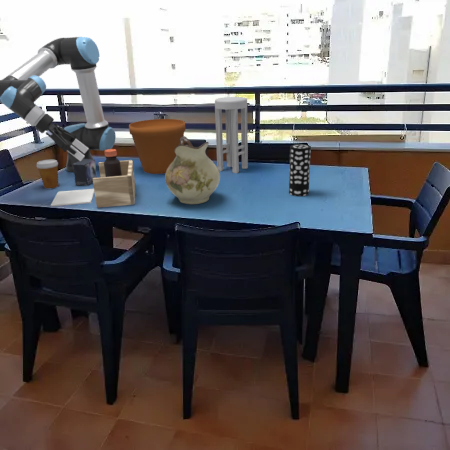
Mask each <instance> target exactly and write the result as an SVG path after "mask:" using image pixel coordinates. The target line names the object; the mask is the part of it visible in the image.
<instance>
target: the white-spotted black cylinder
mask: <svg viewBox="0 0 450 450" xmlns="http://www.w3.org/2000/svg"><path fill="white" fill-rule="evenodd" d="M311 147H312V146H311V145H309V144H303V143H301V144H300V143H299V144H298V143H297V144H292V145H290V147H289V177H288V179H289V180H288V181H289V183H288V194H289V195H291V196H294V197H305V196H308V195H309V194H310V176H311V175H310V172H311V171H310V170H311V153H312V151H311V149H312V148H311Z"/></svg>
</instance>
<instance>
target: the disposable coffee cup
mask: <svg viewBox="0 0 450 450" xmlns="http://www.w3.org/2000/svg"><path fill="white" fill-rule="evenodd" d="M58 165H59V162H58V160H56V159H43V160H39V161H37V162H36V168H37V169H38V173H39V176H40V178H41V182H42V185H43V187H44V189H55V188H58V187H59V186H60V185H59V169H58V168H59V166H58Z"/></svg>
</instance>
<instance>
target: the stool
mask: <svg viewBox="0 0 450 450" xmlns="http://www.w3.org/2000/svg"><path fill="white" fill-rule="evenodd" d="M222 110H225V142H226V143H223V116H222V115H223V113H222V112H223V111H222ZM238 110H240V129H241V130H240V131H241V132H240V135H241V138H240V139H241V141H240V144H241V145H239V118H238V117H239V116H238V115H239V111H238ZM214 112H215V113H214V114H215V115H214V116H215V118H214V119H215V142H216V166H217V168H218V170H219V172H222V171H224V170H225V169H224V155H225V154H226V167H229V168H230V167H232V173H233V174H238V173H239V171H240V169H239V168H240V167H239V163H240V162H239V159H240V158H239V156H240V155H241V169H246V170H247V169H248V168H249V164H248V163H249V159H248V156H249V155H248V154H249V153H248V152H249V151H248V150H249V149H248V147H249V145H248V144H249V143H248V98H247V97H243V96H227V97H226V96H225V97H218V98H215V100H214ZM225 148H226V149H225ZM240 149H241V151H239V150H240Z"/></svg>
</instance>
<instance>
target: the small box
mask: <svg viewBox="0 0 450 450" xmlns="http://www.w3.org/2000/svg"><path fill="white" fill-rule="evenodd" d="M95 164H96V159H94V158H93V159H82V160H81V161H78V162H76V163H74V164H73V169H74V172H73V174H74V176H73V177H74V180H75V181H74V183H75V186H83V187H87V186H90V185H91V184H93V178H98V175H97V173H98V172H97V164H96V165H95Z"/></svg>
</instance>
